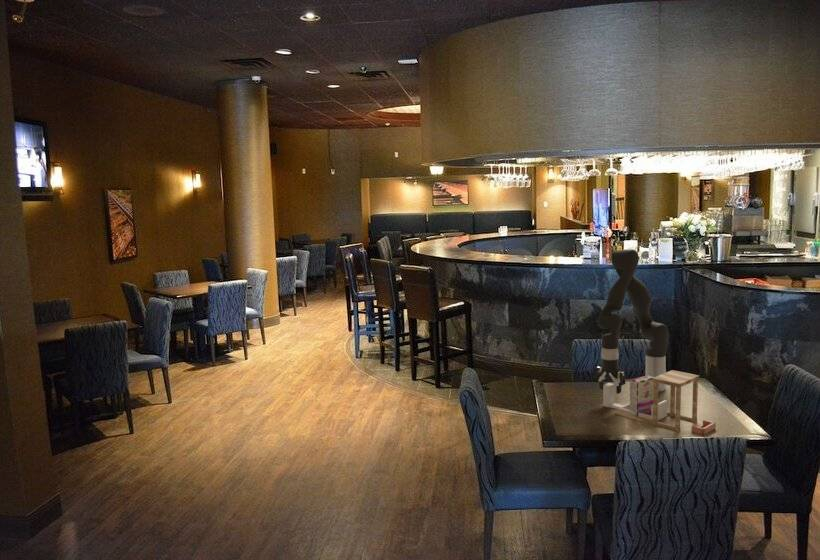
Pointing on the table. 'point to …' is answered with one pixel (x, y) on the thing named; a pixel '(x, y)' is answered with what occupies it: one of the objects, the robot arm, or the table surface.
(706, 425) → the tray
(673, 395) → the tunnel
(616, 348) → the robot arm
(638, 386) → the candy bar box
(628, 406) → the sled
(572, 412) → the table surface
